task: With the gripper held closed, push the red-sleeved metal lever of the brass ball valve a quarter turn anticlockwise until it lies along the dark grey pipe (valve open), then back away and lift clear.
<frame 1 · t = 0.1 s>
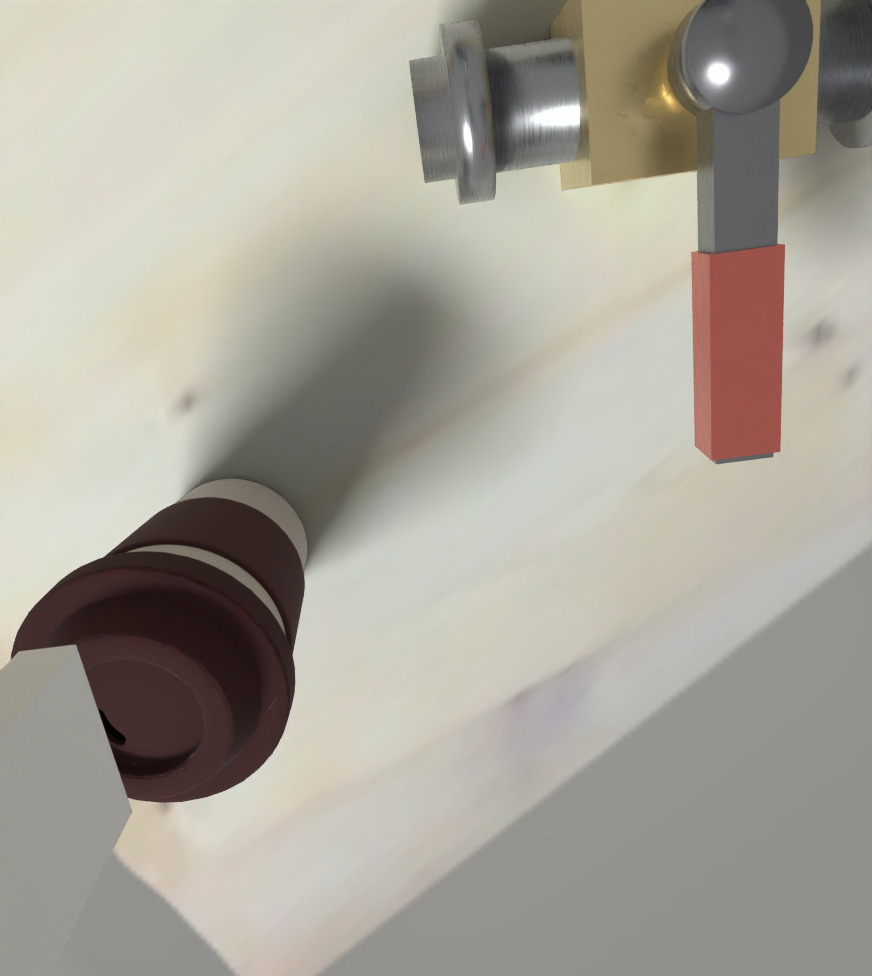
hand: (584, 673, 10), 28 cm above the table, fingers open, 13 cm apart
lever: (736, 242, 25), point 10 cm above the table, hinge at 0.0°
valve: (649, 97, 33), on the table
coffee cup: (240, 539, 40), on the table
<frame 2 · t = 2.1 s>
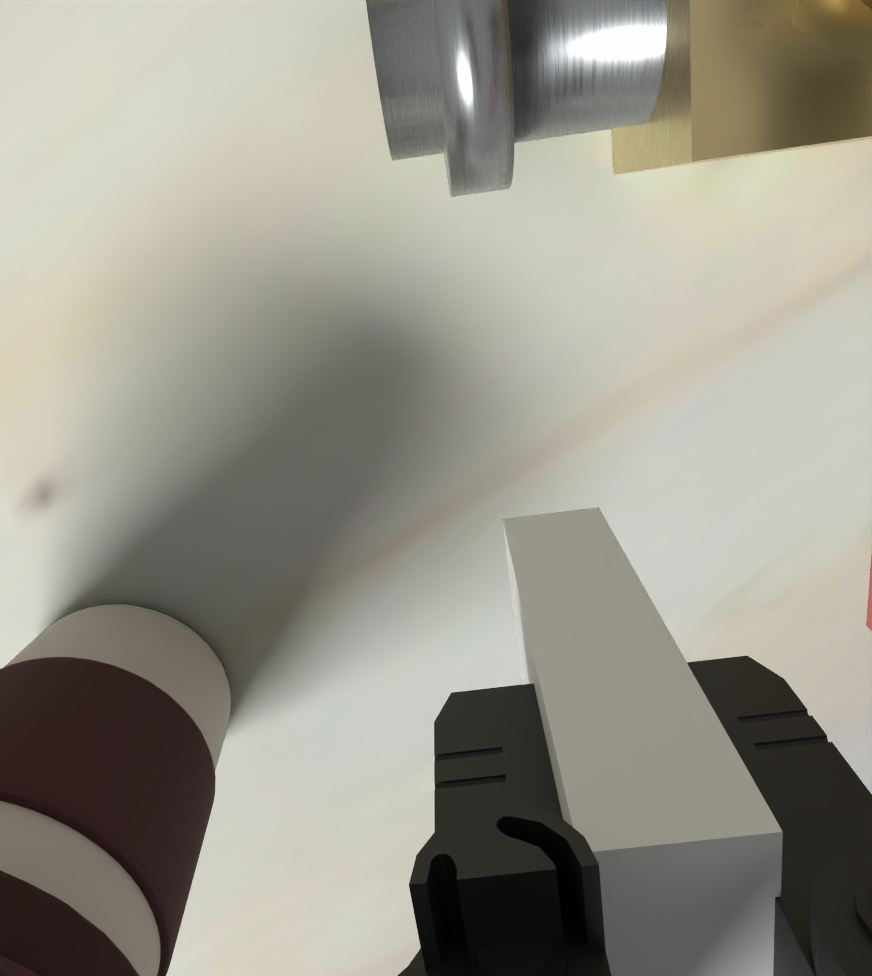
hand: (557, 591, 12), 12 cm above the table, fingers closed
valve: (759, 23, 20), on the table
coffee cup: (135, 683, 27), on the table
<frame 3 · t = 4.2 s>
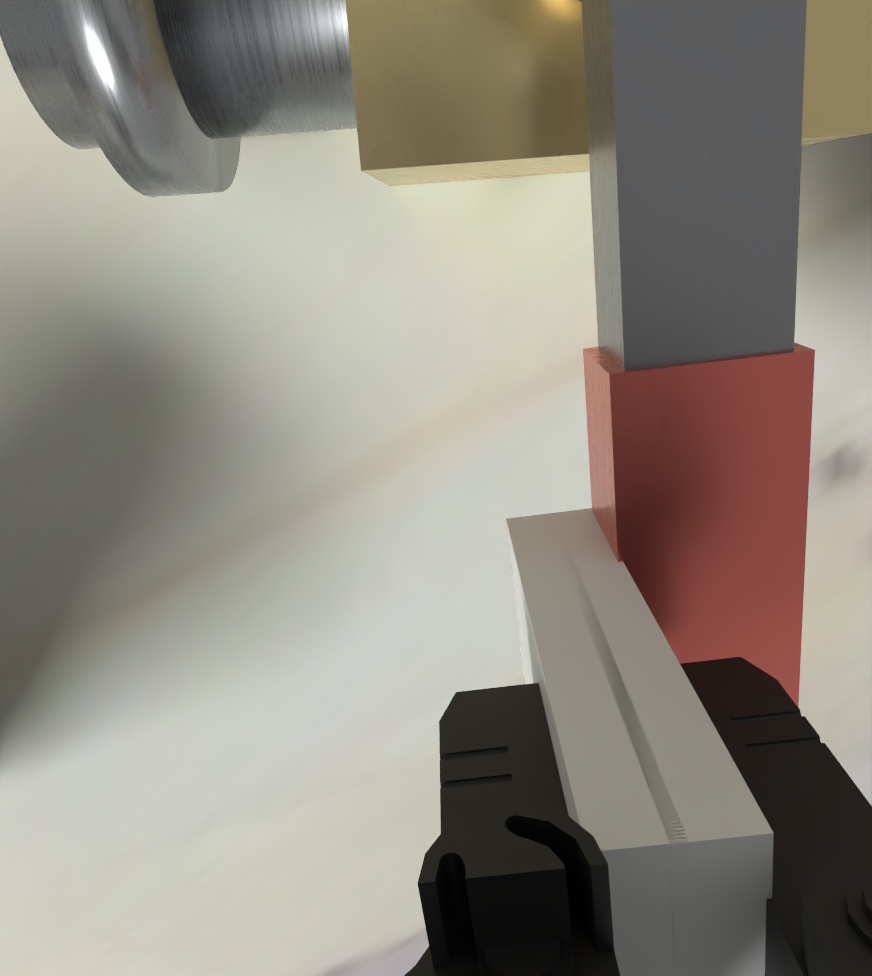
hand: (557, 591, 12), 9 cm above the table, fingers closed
lever: (688, 333, 10), point 10 cm above the table, hinge at 3.1°, touching gripper
valve: (552, 21, 17), on the table
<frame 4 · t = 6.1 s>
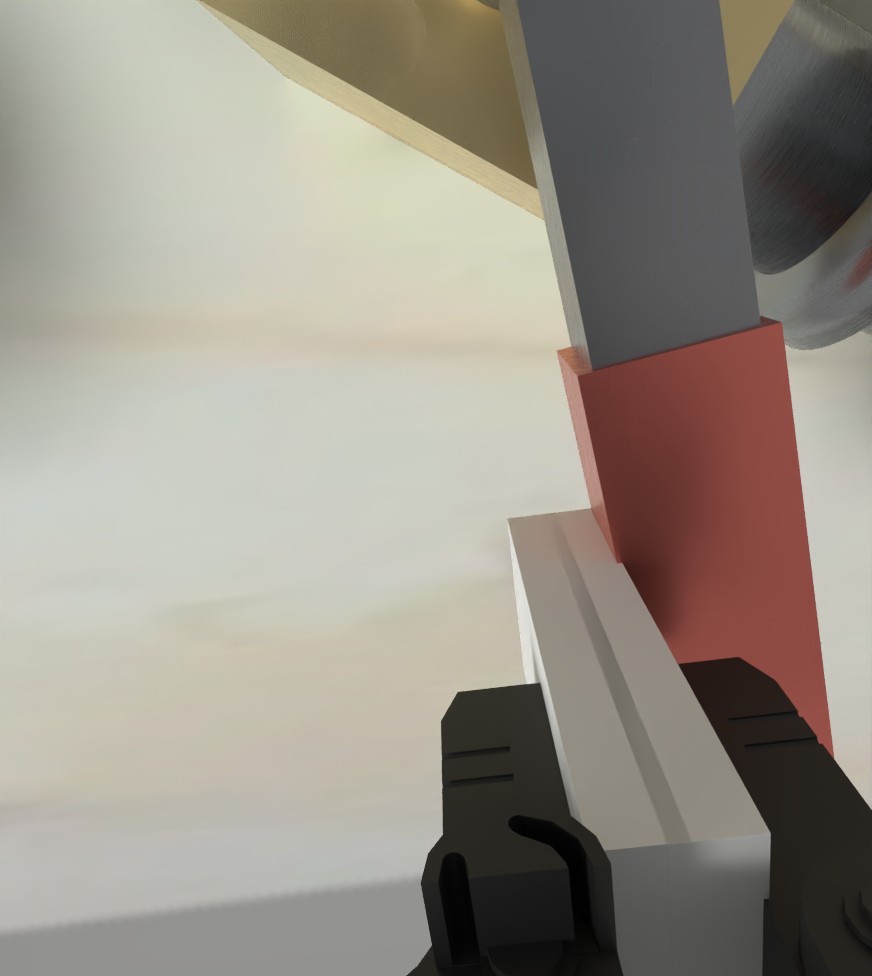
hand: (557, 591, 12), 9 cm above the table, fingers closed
lever: (655, 322, 10), point 10 cm above the table, hinge at 42.4°, touching gripper
valve: (500, 24, 17), on the table
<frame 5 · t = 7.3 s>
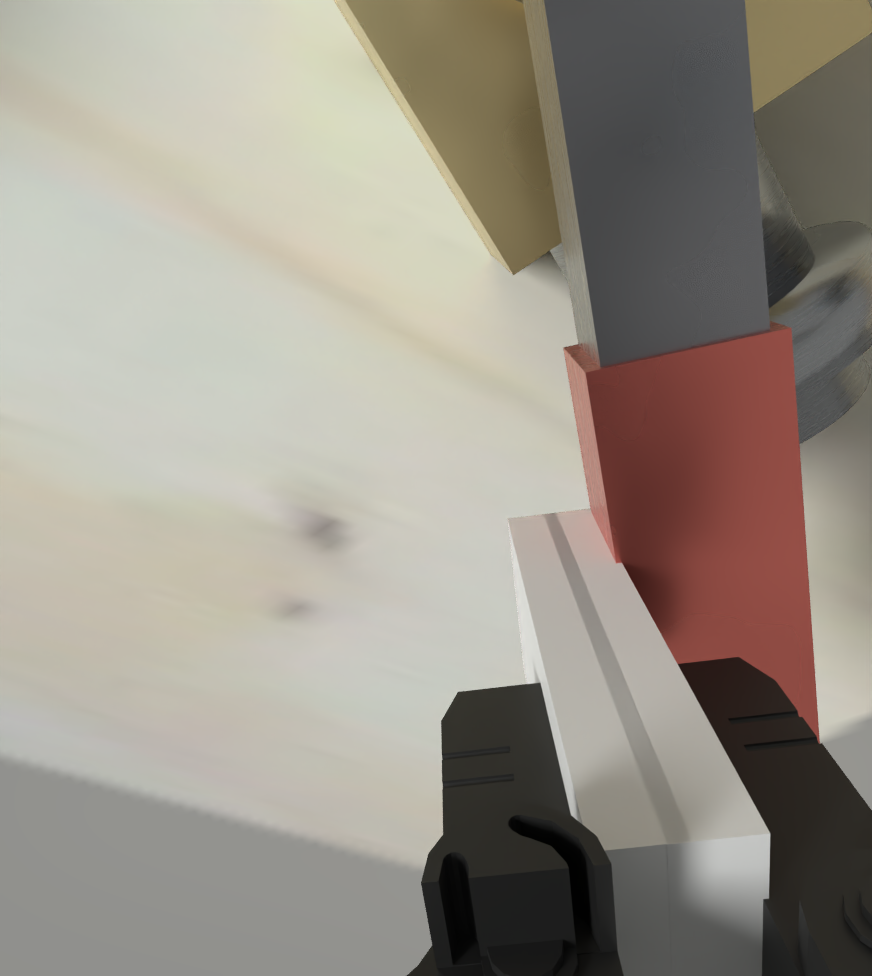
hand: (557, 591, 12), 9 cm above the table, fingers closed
lever: (664, 323, 10), point 10 cm above the table, hinge at 69.0°, touching gripper
valve: (515, 20, 17), on the table
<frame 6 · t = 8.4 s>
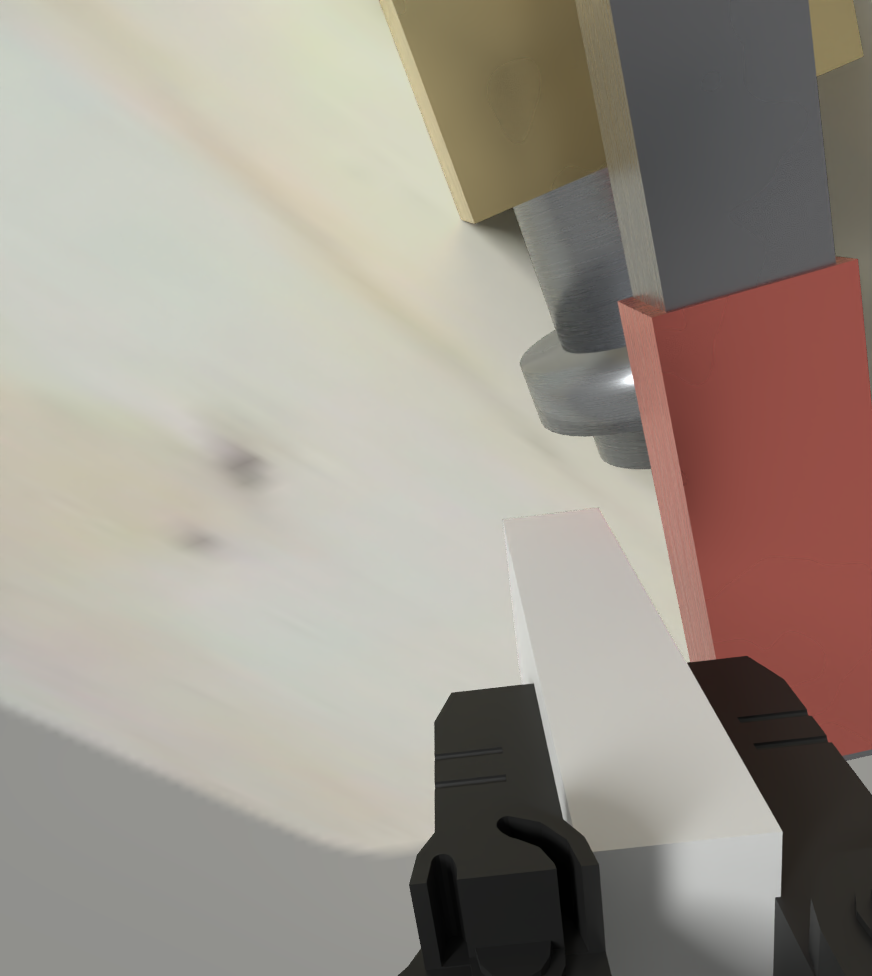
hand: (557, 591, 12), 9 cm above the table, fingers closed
lever: (723, 266, 10), point 10 cm above the table, hinge at 83.9°
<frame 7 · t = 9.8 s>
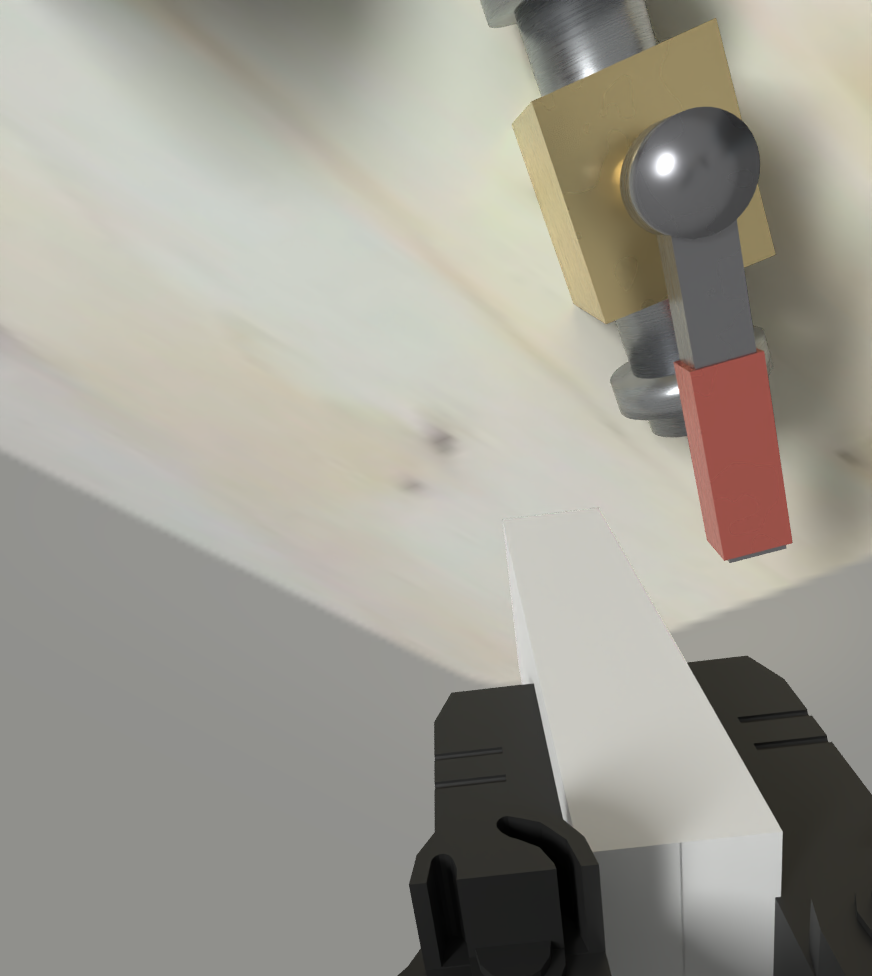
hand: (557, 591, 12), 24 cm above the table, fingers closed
lever: (716, 350, 25), point 10 cm above the table, hinge at 83.9°
valve: (613, 187, 33), on the table
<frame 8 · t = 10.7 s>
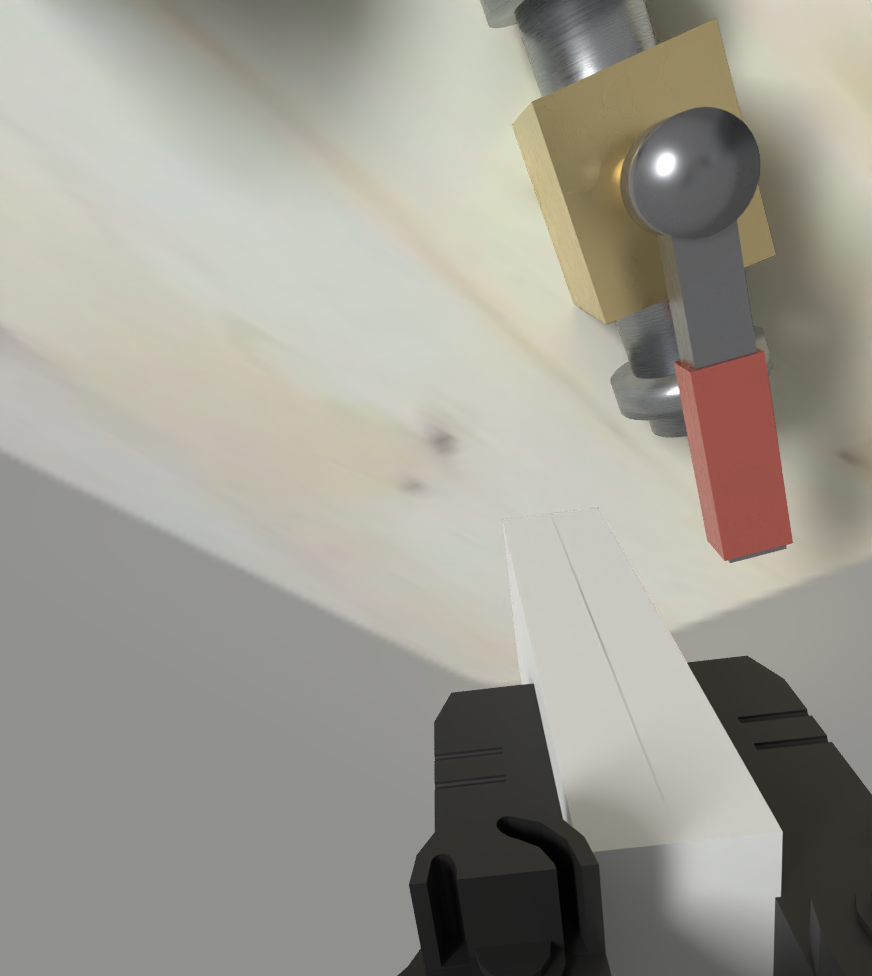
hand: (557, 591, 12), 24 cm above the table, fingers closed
lever: (716, 351, 25), point 10 cm above the table, hinge at 83.9°
valve: (613, 187, 33), on the table
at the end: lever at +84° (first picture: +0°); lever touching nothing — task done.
